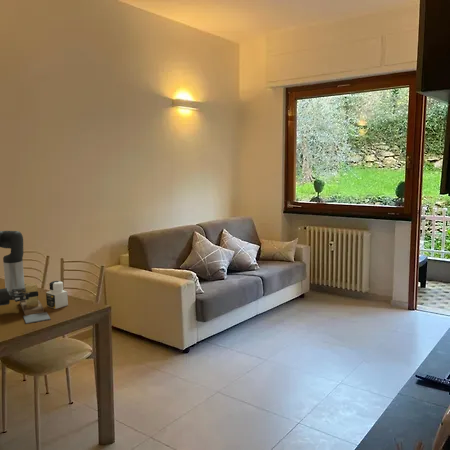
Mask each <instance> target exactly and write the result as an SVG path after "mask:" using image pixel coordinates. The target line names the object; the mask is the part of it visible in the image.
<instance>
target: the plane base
mask: <svg viewBox="0 0 450 450" xmlns="http://www.w3.org/2000/svg"><path fill="white" fill-rule="evenodd" d="M19 305H20V306H21V309H22V311H23V314H24V316H26V315H32V314H38V313H44V312H45V311H44V307H43V305H42V303H41V301H40V300H39V298H38V305H39V306H35V307H29V308H27V307H26V302H25V300H22V301H19Z"/></svg>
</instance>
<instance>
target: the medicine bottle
mask: <svg viewBox="0 0 450 450" xmlns="http://www.w3.org/2000/svg"><path fill="white" fill-rule="evenodd" d="M48 285H49V291H46V292H45V297H46V307H48V308H52V309H53V310H57V309H59V308H65V307H67V306H69V301H68V300H69V299H68V296H69V295H68V291H67V290H64V282H63V281H61V280H53V281H51V282H50V283H48Z"/></svg>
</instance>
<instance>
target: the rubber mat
mask: <svg viewBox="0 0 450 450" xmlns="http://www.w3.org/2000/svg"><path fill="white" fill-rule="evenodd" d="M22 317H23V320H24V322H25V324H32V323H40V322H46V321H51V317H50V315H49V314H48V311H44V312H42V313H36V314H30V315H23V316H22Z"/></svg>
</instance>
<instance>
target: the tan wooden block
mask: <svg viewBox="0 0 450 450" xmlns="http://www.w3.org/2000/svg"><path fill="white" fill-rule="evenodd" d="M24 288H25V293H27V292H36V291H38V290H39V289H38V285H37V282H31V283H24ZM25 297H26V296H25ZM38 299H39V295H38V296H36V297H30V298H29V299H28V300H25V302H26V307H27V308H29V307H35V306H39V305H38Z"/></svg>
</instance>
